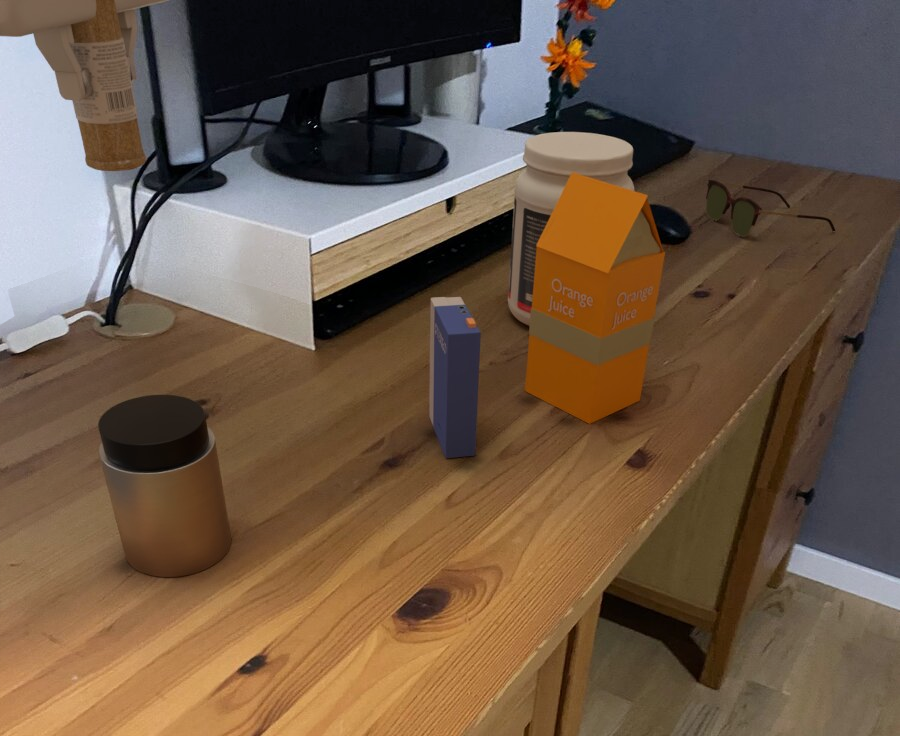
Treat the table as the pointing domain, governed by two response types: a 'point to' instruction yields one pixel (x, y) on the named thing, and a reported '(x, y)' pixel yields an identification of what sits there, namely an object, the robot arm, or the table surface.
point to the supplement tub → (555, 195)
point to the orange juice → (593, 299)
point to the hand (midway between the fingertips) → (100, 90)
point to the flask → (164, 485)
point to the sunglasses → (741, 207)
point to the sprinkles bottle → (106, 94)
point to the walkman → (454, 376)
